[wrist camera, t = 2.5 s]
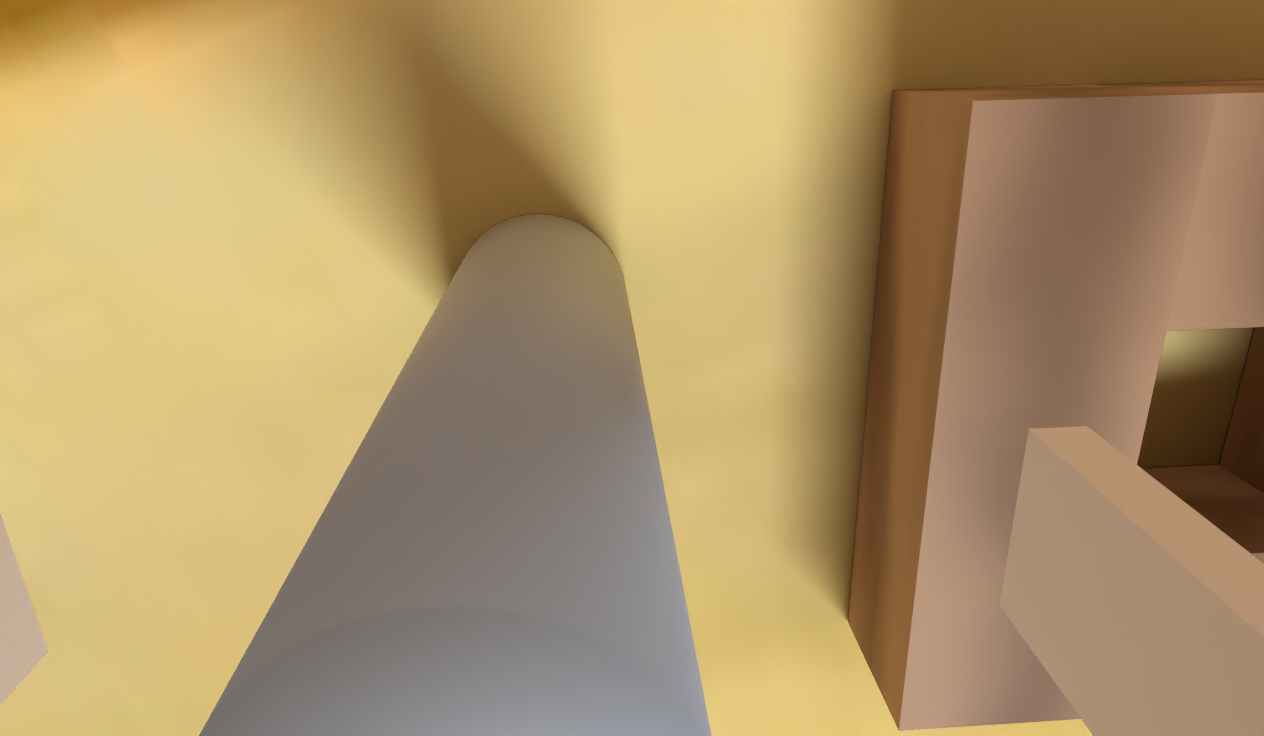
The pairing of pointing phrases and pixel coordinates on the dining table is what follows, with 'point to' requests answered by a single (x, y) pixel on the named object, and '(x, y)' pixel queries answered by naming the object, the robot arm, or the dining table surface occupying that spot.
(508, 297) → the peg
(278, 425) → the dining table surface
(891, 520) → the socket block
